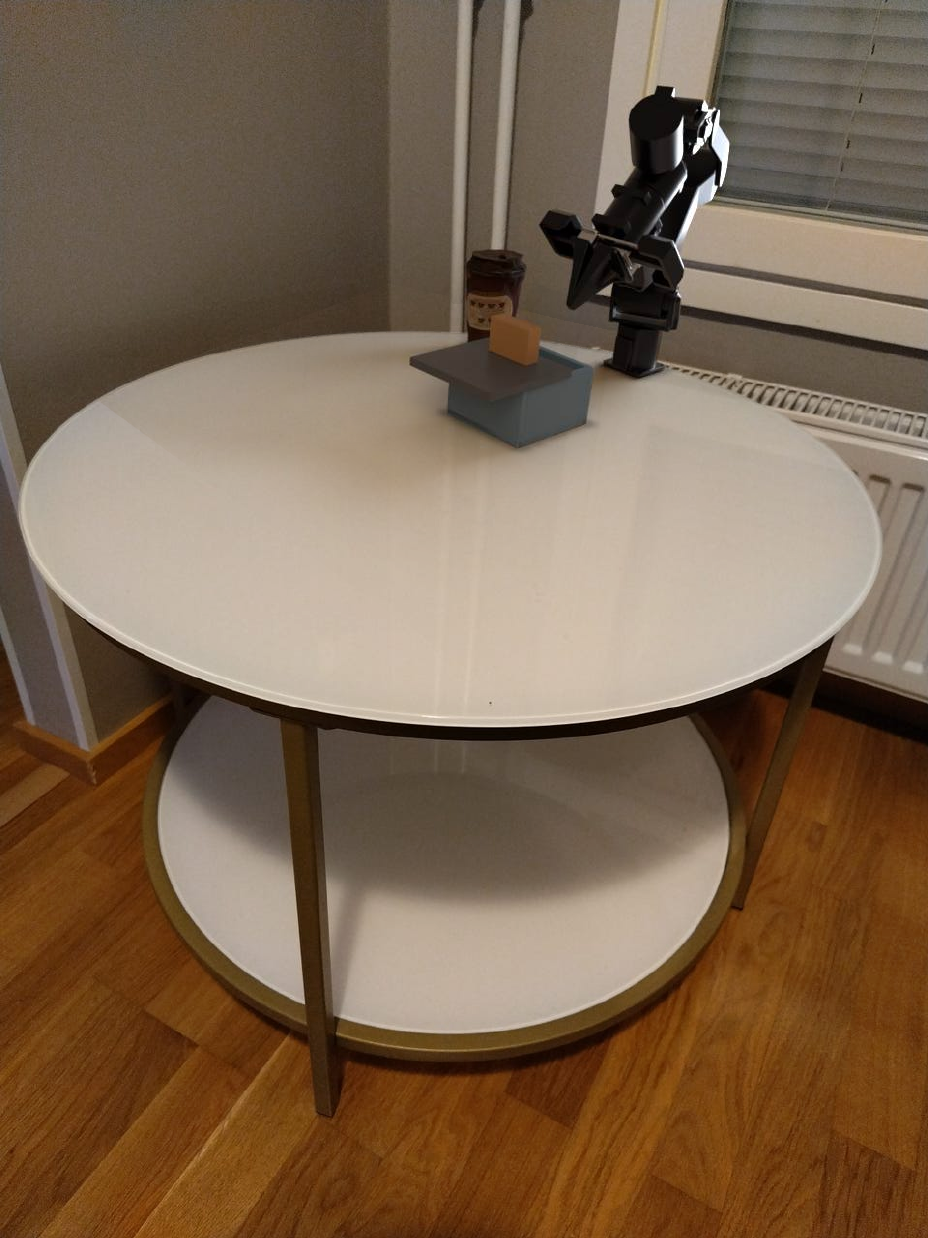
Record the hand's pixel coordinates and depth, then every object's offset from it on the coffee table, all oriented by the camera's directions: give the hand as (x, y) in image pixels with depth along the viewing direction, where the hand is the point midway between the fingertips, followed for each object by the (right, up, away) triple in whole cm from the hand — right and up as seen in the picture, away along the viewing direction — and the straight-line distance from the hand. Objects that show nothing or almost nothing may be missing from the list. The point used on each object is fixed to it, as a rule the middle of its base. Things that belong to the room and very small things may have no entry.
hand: (569, 307), depth 102 cm
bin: (-6, -12, +3) cm, 14 cm away
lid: (-10, -9, -5) cm, 14 cm away
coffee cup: (-9, +2, +23) cm, 25 cm away
